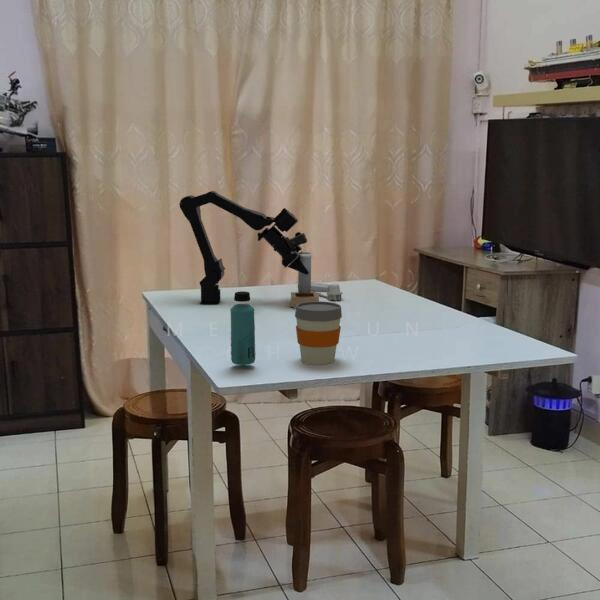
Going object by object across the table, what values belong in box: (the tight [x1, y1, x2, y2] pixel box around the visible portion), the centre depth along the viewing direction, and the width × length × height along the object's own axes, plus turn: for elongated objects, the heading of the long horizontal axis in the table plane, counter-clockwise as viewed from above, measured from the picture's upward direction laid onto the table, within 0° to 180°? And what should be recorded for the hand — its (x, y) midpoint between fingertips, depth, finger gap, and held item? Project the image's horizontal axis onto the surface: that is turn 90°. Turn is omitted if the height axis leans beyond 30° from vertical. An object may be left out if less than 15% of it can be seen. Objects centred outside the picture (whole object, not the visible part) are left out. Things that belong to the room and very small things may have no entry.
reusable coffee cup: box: [294, 300, 343, 366], centre depth 214 cm, size 13×12×15 cm
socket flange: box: [289, 291, 320, 308], centre depth 285 cm, size 10×10×4 cm
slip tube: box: [297, 251, 313, 293], centre depth 284 cm, size 5×5×14 cm
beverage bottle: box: [229, 291, 257, 366], centre depth 207 cm, size 6×7×20 cm
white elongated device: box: [311, 281, 343, 301], centre depth 302 cm, size 5×7×25 cm
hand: (308, 272), depth 283 cm, fingers closed on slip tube, 4 cm apart
